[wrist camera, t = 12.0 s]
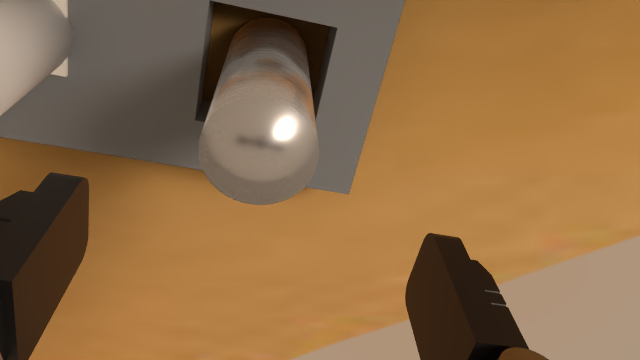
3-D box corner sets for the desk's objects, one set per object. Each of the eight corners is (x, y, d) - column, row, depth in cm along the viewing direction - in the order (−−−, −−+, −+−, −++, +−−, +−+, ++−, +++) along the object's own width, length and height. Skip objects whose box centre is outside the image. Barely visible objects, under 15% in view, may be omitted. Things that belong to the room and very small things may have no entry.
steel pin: (314, 26, 24) (331, 110, 15) (298, 100, 26) (305, 212, 17) (234, 9, 24) (206, 86, 15) (224, 86, 25) (192, 194, 17)
